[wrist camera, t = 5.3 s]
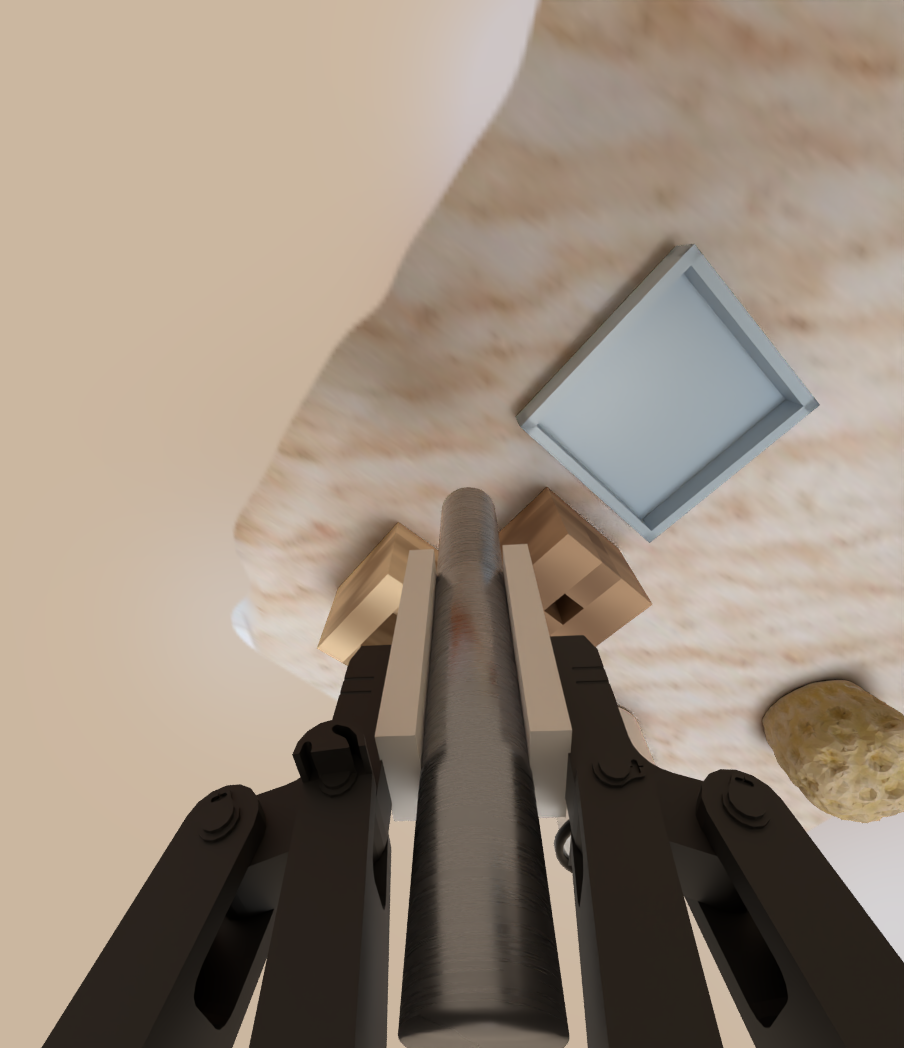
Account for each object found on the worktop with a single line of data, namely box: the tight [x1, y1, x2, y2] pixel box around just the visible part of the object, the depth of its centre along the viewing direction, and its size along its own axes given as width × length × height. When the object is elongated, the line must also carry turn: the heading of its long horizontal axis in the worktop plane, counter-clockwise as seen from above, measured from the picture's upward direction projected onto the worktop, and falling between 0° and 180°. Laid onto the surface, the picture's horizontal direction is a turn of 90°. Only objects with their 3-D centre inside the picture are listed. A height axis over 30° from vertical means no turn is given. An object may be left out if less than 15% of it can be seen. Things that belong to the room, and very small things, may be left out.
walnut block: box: [498, 487, 652, 647], centre depth 29 cm, size 7×7×6 cm
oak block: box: [317, 522, 438, 666], centre depth 30 cm, size 7×7×6 cm
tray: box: [516, 244, 819, 543], centre depth 26 cm, size 11×11×2 cm
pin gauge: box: [398, 487, 569, 1048], centre depth 13 cm, size 2×2×15 cm
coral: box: [762, 680, 904, 823], centre depth 36 cm, size 9×9×8 cm
